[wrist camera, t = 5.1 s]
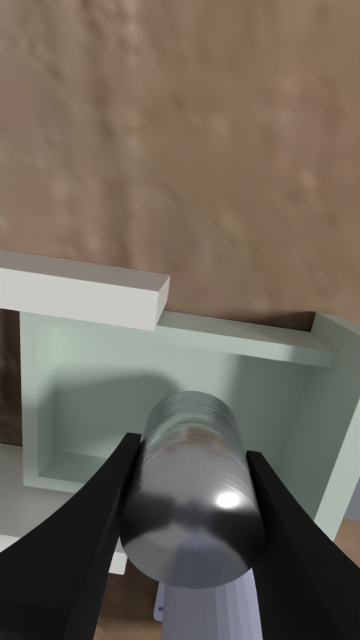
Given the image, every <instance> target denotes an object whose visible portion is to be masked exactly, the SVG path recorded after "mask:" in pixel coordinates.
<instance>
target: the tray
mask: <svg viewBox="0 0 360 640" xmlns="http://www.w3.org/2000/svg"><path fill="white" fill-rule="evenodd" d="M20 346H21V393H22V440H23V485H24V486H30V487H37V488H44V489H50V490H57V491H63V492H70V493H76V492H78V491H79V490H80V489H81V488H82V487H83V486H84V485H85V484H86V483H87V481H88V480H89V479H90V478H91V477H92V476H93V475H94V474H95V473H96V472H97V471H98V470H99V468H100V467H101V466H102V465H103V464H104V462H105V461H106V460H107V459H108V458H109V456H110V455H111V454H112V453H113V451H114V450H115V449H116V447H117V446H118V445H119V443H120V442H121V440H122V439H123V437H124V436H125V434H126V433H128V432H130V433H137V434H142V437H143V433H144V429H145V425H146V421H147V418H148V416H149V413H150V412H151V410H152V409H153V408H154V406H155V405H156V404H157V403H158V402H159V401H161V400H162V399H164V398H165V397H167V396H169V395H171V394H174V393H178V392H182V391H200V392H204V393H208V394H211V395H213V396H215V397H217V398H219V399H220V400H222V401H223V402H224V403H225V404H226V405H227V406H228V407H229V408H230V409H231V410H232V412H233V414H234V415H235V417H236V420H237V423H238V427H239V431H240V435H241V439H242V443H243V447H244V451H245V455H246V452H247V450H250V451H257V452H261V453H262V455H263V456H264V457H265V459H266V460H267V462H268V463H269V464H270V466H271V467H272V469H273V470H274V471H275V473H276V474H277V476H278V477H279V478H280V480H281V481H282V482H283V484H284V485H285V486H286V488H287V489H288V490H289V492H290V493H291V494H292V496H293V497H294V498H295V499H296V501H297V502H298V503H299V504H300V506H301V507H302V508H303V509H304V510H305V512H306V513H307V514H308V515H309V516H310V518H311V519H312V520H313V521H314V522H315V523H316V524H317V526H318V527H319V528H320V529H321V530H322V531H323V532H324V533H325V534H326V535H327V536H328V537H329V538H330V539H331V541H332V542H333V541H334V538H335V536H336V533H337V531H338V529H339V526H340V524H341V521H342V519H347V520H354V521H360V326H359V325H357V324H355V323H353V322H351V321H349V320H347V319H345V318H343V317H341V316H339V315H334V314H327V313H321V312H316V315H315V318H314V322H313V325H312V328H311V332H306V331H299V330H292V329H286V328H279V327H272V326H266V325H259V324H252V323H246V322H239V321H232V320H226V319H219V318H212V317H206V316H199V315H192V314H186V313H179V312H172V311H166V310H163V311H162V314H161V316H160V318H159V320H158V323H157V325H156V327H155V330H154V331H149V330H143V329H136V328H129V327H123V326H116V325H109V324H103V323H96V322H89V321H83V320H76V319H69V318H63V317H56V316H49V315H43V314H36V313H29V312H23V311H20ZM142 437H141V441H142Z"/></svg>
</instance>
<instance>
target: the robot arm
mask: <svg viewBox="0 0 360 640" xmlns="http://www.w3.org/2000/svg"><path fill="white" fill-rule="evenodd" d="M141 437H142V434H137V433H130V432H128V433H126V434H125V436H124V437H123V439H122V440H121V442H120V443H119V445H118V446H117V447H116V449H115V450H114V451H113V453H112V454H111V455H110V456H109V458H108V459H107V460H106V461H105V462H104V464H103V465H102V466H101V467H100V468H99V470H98V471H97V472H96V473H95V474H94V475H93V476H92V477H91V478H90V479H89V480H88V481H87V483H86V484H85V485H84V486H83V487H82V488H81V489H80V490H79V491H78V492H76V493H75V494H74V495H73V496H72V497H71V498H70V499H69V500H68V501H67V502H66V503H65V504H63V505H62V506H61V507H60V508H59V509H58V510H56V511H55V512H54V513H53V514H52V515H51V516H49V517H48V518H47V519H46V520H44V521H43V522H42V523H41V524H39V525H38V526H37V527H35V528H34V529H32V530H31V531H30V532H28V533H27V534H26V535H24V536H23V537H22V538H20V539H19V540H17V541H16V542H15V543H13V544H12V545H10V546H9V547H7V548H6V549H4V550H3V551H1V552H0V640H93V638H94V633H95V629H96V625H97V620H98V616H99V612H100V607H101V603H102V599H103V595H104V590H105V586H106V582H107V578H108V573H109V569H110V566H111V562H112V558H113V555H114V552H115V548H116V545H117V542H118V539H119V527H120V521H121V517H122V513H123V510H124V506H125V502H126V498H127V494H128V490H129V487H130V483H131V479H132V475H133V471H134V467H135V464H136V460H137V456H138V452H139V448H140V444H141ZM246 459H247V463H248V466H249V470H250V474H251V478H252V482H253V486H254V490H255V494H256V498H257V502H258V506H259V509H260V513H261V517H262V521H263V525H264V529H265V544H264V548H263V551H262V553H261V556H260V558H259V559H258V561H257V562H256V564H255V565H254V566H253V567H252V568H251V569H250V570H249V571H248V572H246V573H245V574H244V575H242V576H241V577H239V578H238V579H236V580H234V581H232V582H230V583H227V584H224V585H221V586H217V587H212V588H205V589H187V588H179V587H175V586H170V585H167V584H164V583H161V582H159V584H158V590H157V596H156V601H155V607H154V614H153V617H154V619H155V620H157V621H162V634H161V640H360V568H359V567H358V566H357V565H356V564H355V563H354V562H353V561H352V560H350V559H349V558H348V557H347V556H346V555H345V554H344V553H343V552H342V551H341V550H340V549H339V548H338V547H337V546H336V545H335V544H334V543H333V542H332V541H331V539H330V538H329V537H328V536H327V535H326V534H325V533H324V532H323V531H322V530H321V529H320V528H319V527H318V526H317V524H316V523H315V522H314V521H313V520H312V519H311V518H310V516H309V515H308V514H307V513H306V512H305V510H304V509H303V508H302V507H301V506H300V504H299V503H298V502H297V501H296V499H295V498H294V497H293V496H292V494H291V493H290V492H289V490H288V489H287V488H286V486H285V485H284V484H283V482H282V481H281V480H280V478H279V477H278V476H277V474H276V473H275V471H274V470H273V469H272V467H271V466H270V464H269V463H268V462H267V460H266V459H265V457H264V456H263V455H262V453H261V452H257V451H250V450H247V452H246Z"/></svg>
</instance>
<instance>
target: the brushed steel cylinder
mask: <svg viewBox="0 0 360 640" xmlns="http://www.w3.org/2000/svg"><path fill="white" fill-rule="evenodd" d="M119 536H120V541H121V545H122V548H123V550H124V552H125V554H126V555H127V557H128V559H129V560H130V561H131V562H132V563H133V565H135V566H136V567H137V568H138V569H139V570H140V571H141V572H143V573H144V574H146V575H147V576H149V577H151V578H152V579H154V580H157V581H159V582H161V583H164V584H167V585H170V586H175V587H179V588H187V589H205V588H212V587H217V586H221V585H224V584H227V583H230V582H232V581H234V580H236V579H238V578H239V577H241V576H242V575H244V574H245V573H246V572H248V571H249V570H250V569H251V568H252V567H253V566H254V565H255V564H256V562H257V561H258V559H259V558H260V556H261V553H262V551H263V548H264V544H265V529H264V525H263V521H262V517H261V513H260V509H259V506H258V502H257V498H256V494H255V490H254V486H253V482H252V478H251V474H250V470H249V466H248V463H247V459H246V455H245V451H244V447H243V443H242V439H241V435H240V431H239V427H238V423H237V420H236V417H235V415H234V414H233V412H232V410H231V409H230V408H229V407H228V406H227V405H226V404H225V403H224V402H223V401H222V400H220V399H219V398H217V397H215V396H213V395H211V394H208V393H204V392H200V391H182V392H178V393H174V394H171V395H169V396H167V397H165V398H164V399H162V400H161V401H159V402H158V403H157V404H156V405H155V406H154V408H153V409H152V410H151V412H150V413H149V416H148V418H147V421H146V425H145V429H144V433H143V437H142V441H141V444H140V448H139V452H138V456H137V460H136V464H135V467H134V471H133V475H132V479H131V483H130V487H129V490H128V494H127V498H126V502H125V506H124V510H123V513H122V517H121V521H120V527H119Z"/></svg>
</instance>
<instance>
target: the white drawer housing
mask: <svg viewBox="0 0 360 640" xmlns="http://www.w3.org/2000/svg"><path fill="white" fill-rule="evenodd" d="M169 282H170V275H168V274H161V273H154V272H148V271H141V270H134V269H128V268H121V267H114V266H107V265H101V264H94V263H87V262H81V261H74V260H67V259H61V258H54V257H47V256H41V255H34V254H27V253H21V252H14V251H7V250H1V249H0V308H3V309H9V310H16V311H23V312H29V313H36V314H43V315H49V316H56V317H63V318H69V319H76V320H83V321H89V322H96V323H103V324H109V325H116V326H123V327H129V328H136V329H143V330H149V331H154V330H155V327H156V325H157V323H158V320H159V318H160V316H161V314H162V311H163V309H164V307H165V304H166V302H167V297H168V289H169ZM74 494H75V493H70V492H63V491H57V490H50V489H44V488H37V487H30V486H24V485H23V447H21V446H15V445H8V444H1V443H0V552H1V551H3V550H4V549H6V548H7V547H9V546H10V545H12V544H13V543H15V542H16V541H17V540H19V539H20V538H22V537H23V536H24V535H26V534H27V533H28V532H30V531H31V530H32V529H34V528H35V527H37V526H38V525H39V524H41V523H42V522H43V521H44V520H46V519H47V518H48V517H49V516H51V515H52V514H53V513H54V512H55V511H56V510H58V509H59V508H60V507H61V506H62V505H63V504H65V503H66V502H67V501H68V500H69V499H70V498H71V497H72V496H73V495H74ZM126 562H127V555H126V554H125V552H124V550H123V548H122V545H121V541H120V536H119V539H118V542H117V545H116V548H115V552H114V555H113V558H112V562H111V566H110V569H109V573H115V574H122V575H124V572H125V567H126Z"/></svg>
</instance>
